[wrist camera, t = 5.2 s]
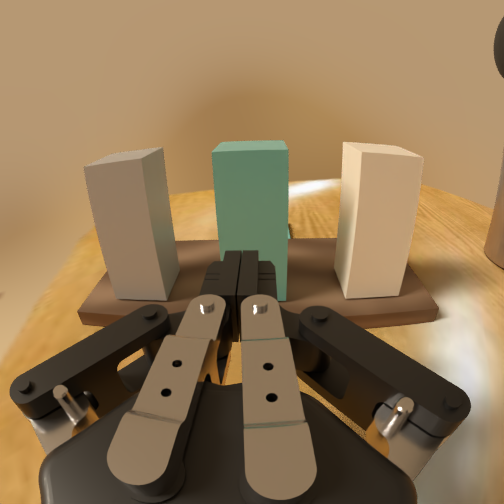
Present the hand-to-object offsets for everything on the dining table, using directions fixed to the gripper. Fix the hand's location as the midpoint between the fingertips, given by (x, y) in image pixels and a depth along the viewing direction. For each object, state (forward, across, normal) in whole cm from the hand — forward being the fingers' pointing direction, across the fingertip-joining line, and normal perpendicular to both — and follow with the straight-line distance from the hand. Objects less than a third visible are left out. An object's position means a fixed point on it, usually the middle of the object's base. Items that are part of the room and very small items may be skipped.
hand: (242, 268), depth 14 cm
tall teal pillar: (+10, 0, +8) cm, 13 cm away
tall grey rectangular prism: (+10, +10, +8) cm, 16 cm away
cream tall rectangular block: (+10, -10, +8) cm, 17 cm away
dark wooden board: (+13, 0, +9) cm, 16 cm away
